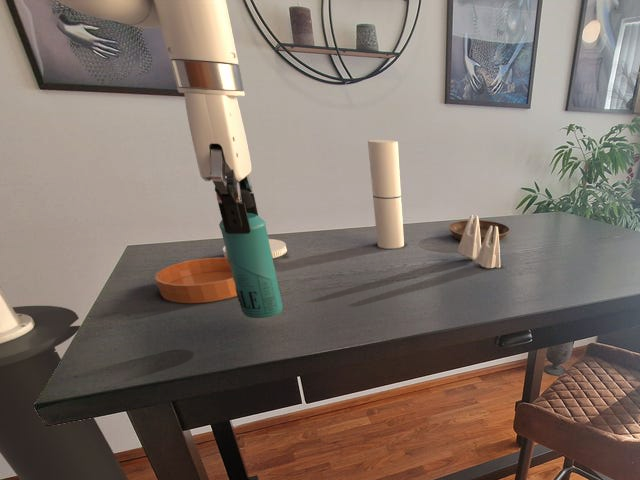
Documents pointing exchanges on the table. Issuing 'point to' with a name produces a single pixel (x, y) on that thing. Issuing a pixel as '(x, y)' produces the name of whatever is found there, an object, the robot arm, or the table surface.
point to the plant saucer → (460, 227)
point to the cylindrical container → (386, 192)
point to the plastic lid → (275, 245)
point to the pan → (197, 281)
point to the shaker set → (473, 248)
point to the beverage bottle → (253, 267)
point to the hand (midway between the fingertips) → (243, 225)
